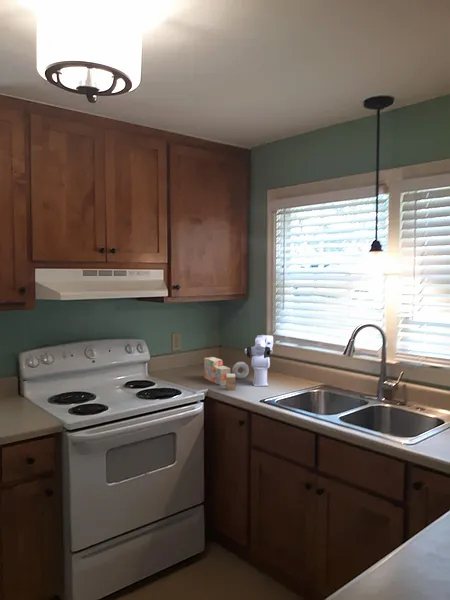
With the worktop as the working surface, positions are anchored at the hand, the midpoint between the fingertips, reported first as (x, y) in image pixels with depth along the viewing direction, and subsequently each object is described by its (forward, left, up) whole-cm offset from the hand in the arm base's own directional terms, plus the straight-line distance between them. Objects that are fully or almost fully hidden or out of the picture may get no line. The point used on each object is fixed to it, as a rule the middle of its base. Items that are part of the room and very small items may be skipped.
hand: (257, 356), depth 262 cm
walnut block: (-10, -13, -20) cm, 25 cm away
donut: (-35, -6, -20) cm, 40 cm away
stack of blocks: (-29, -20, -20) cm, 40 cm away
